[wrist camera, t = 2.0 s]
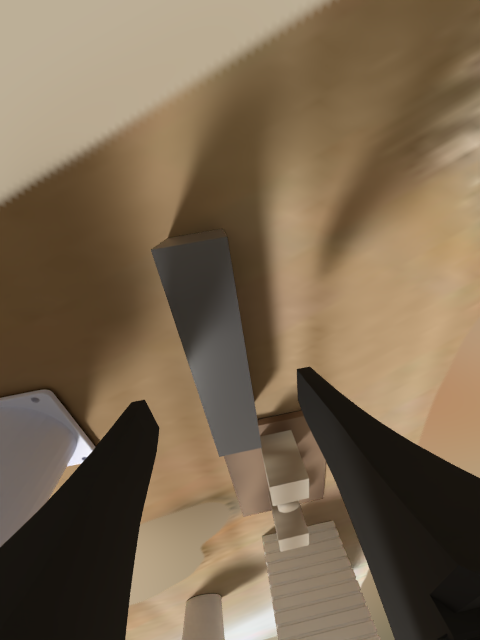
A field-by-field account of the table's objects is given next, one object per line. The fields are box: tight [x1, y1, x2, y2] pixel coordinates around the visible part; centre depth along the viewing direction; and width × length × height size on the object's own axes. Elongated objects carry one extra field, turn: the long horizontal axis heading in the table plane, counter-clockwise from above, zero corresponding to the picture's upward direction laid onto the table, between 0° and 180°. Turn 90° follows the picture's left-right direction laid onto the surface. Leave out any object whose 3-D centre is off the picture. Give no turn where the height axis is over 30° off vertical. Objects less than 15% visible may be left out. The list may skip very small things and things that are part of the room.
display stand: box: [224, 410, 326, 552], centre depth 21 cm, size 10×16×5 cm, turn 8°
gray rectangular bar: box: [151, 229, 262, 457], centre depth 13 cm, size 3×14×4 cm, turn 8°
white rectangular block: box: [262, 521, 381, 640], centre depth 34 cm, size 32×11×11 cm, turn 6°
